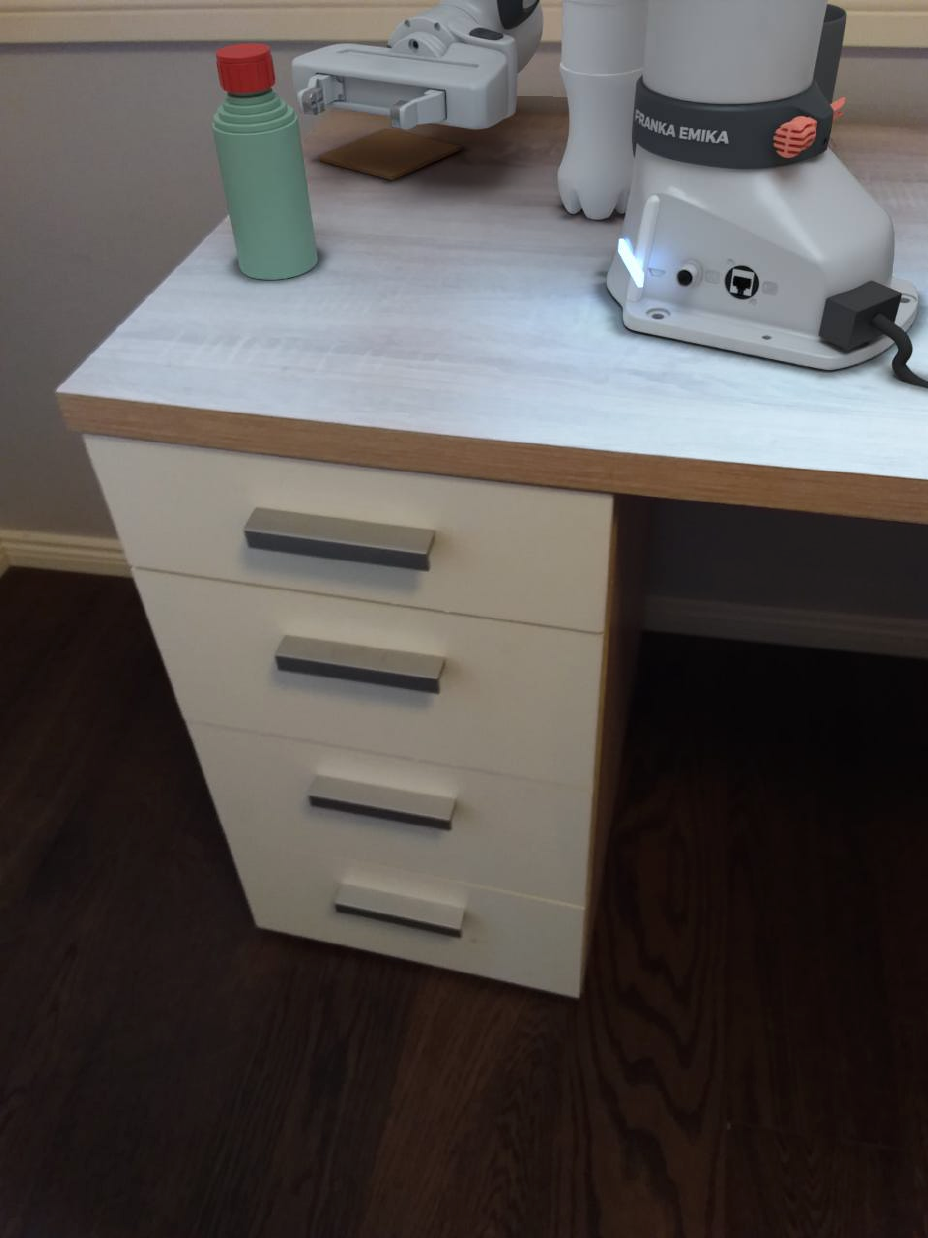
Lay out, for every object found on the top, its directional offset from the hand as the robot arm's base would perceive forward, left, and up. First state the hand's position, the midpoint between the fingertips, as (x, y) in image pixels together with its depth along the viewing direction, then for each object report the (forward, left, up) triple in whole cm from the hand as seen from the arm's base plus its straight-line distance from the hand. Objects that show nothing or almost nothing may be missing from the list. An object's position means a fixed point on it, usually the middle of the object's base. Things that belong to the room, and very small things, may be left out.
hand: (350, 111), depth 85 cm
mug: (-21, -32, -8) cm, 39 cm away
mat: (+8, -12, -8) cm, 17 cm away
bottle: (-2, +12, -8) cm, 15 cm away
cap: (-2, +12, +7) cm, 14 cm away
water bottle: (-17, -12, -8) cm, 23 cm away
